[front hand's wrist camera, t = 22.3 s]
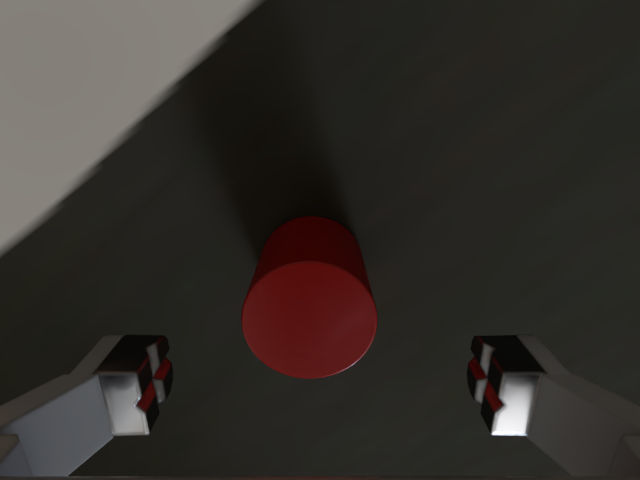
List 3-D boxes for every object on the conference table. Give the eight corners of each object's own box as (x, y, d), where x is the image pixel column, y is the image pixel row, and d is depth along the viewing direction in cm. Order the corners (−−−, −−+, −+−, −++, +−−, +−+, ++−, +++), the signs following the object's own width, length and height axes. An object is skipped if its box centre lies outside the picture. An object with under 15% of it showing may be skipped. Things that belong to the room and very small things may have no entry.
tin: (239, 261, 16) (212, 320, 12) (314, 194, 15) (313, 232, 11) (308, 325, 17) (306, 400, 13) (382, 267, 16) (405, 328, 12)
